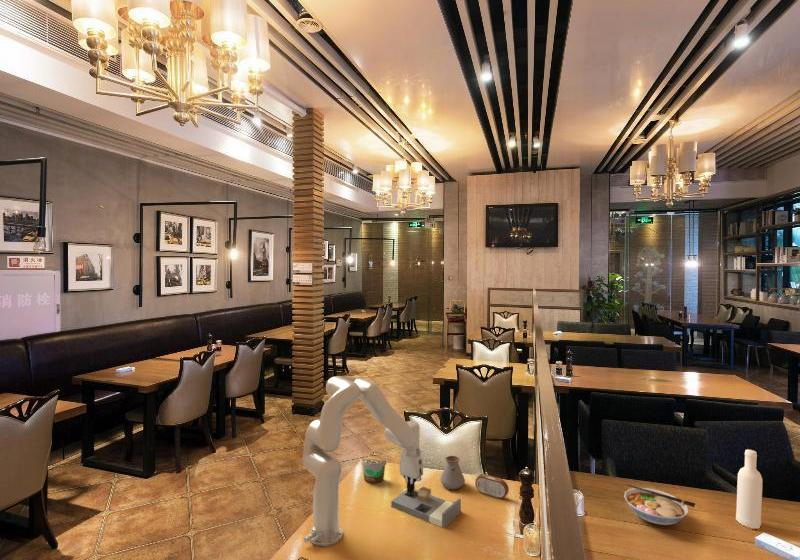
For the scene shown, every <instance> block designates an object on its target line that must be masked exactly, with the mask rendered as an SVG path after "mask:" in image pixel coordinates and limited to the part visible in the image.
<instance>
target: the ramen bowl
mask: <svg viewBox="0 0 800 560" xmlns="http://www.w3.org/2000/svg"><path fill="white" fill-rule="evenodd" d="M626 486H628V487H630V488H629V489H627V490H626V491H624V497H623V498H624V499H625V501H626V503H627V504H628V506H629V508H630V509H631V511H632V512H633V513H634V514H635V515H637V516H638V517H640V518H641V519H642V520H644V521H647V522H649V523H653V524H655V525H661V526H668V525H669V526H670V525H675V524H678V523H679V522H680V521H682V520H683V519H684V518H685V517H686V516H687V515H688V514H689V508H688V506H689V507H692V508H695V506H696V503H695V502H692V501H689V500H685V499H680V498H678V497H677V496H675V495H672V494H671V493H668V492H665V491H662V490H658V489H655V488H648V487H639V486H638V487H637V486H634V485H629V484H626Z"/></svg>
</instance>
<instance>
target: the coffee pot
mask: <svg viewBox="0 0 800 560" xmlns="http://www.w3.org/2000/svg"><path fill="white" fill-rule="evenodd" d="M444 460H446V465H445V467H444V469H443V472H442V473H441V475H440V477H439V479H440V483H441V484H442V486H444V487H445V488H446V487H447V488H446V489H448V490H452V489H455V490H459V489H461V487H463V486H464V484H465V483H466V482H465V480H466V479H465V477H464V474H463V472H462V469H461V467H460V465H459V461H460V460H461V459H460V457H458V456H455V455H449V456H446V457H445V458H444Z"/></svg>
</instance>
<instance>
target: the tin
mask: <svg viewBox="0 0 800 560" xmlns="http://www.w3.org/2000/svg"><path fill="white" fill-rule="evenodd" d="M475 487H476V489H477V490H478V491H479V492H480V493H481V494H483V495H487V496H490V497H493V498H496V499H500V500H501V499H504V498H505V497H506V496H507V495H508V494H509V489H510V488H509V486H508V484H507V482H506V481H505V480H504V479H502V478H500V477H496V476H493V475H489V474H485V473H480V474H479V475H478V476H477V477H476V478H475Z"/></svg>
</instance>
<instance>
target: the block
mask: <svg viewBox="0 0 800 560" xmlns="http://www.w3.org/2000/svg"><path fill="white" fill-rule="evenodd" d="M431 495H432V489H431V488H430V487H427V486H424V485H423V486H422V487H420V488H419V489H418V499H419V500H422V501H425V502H427V501H428V500H429V499H430V498H431Z"/></svg>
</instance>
